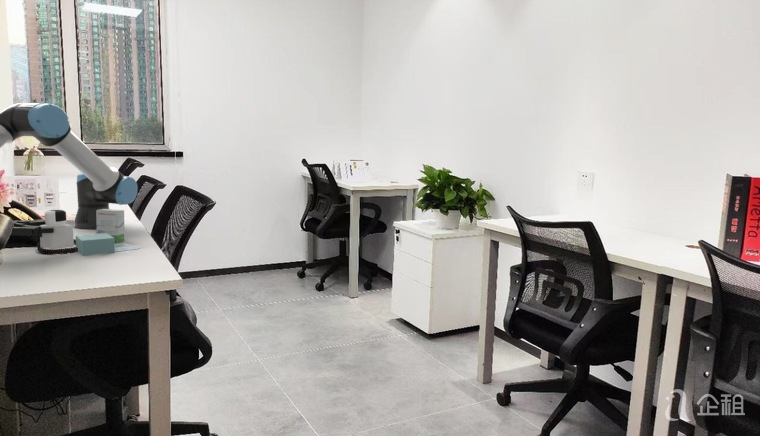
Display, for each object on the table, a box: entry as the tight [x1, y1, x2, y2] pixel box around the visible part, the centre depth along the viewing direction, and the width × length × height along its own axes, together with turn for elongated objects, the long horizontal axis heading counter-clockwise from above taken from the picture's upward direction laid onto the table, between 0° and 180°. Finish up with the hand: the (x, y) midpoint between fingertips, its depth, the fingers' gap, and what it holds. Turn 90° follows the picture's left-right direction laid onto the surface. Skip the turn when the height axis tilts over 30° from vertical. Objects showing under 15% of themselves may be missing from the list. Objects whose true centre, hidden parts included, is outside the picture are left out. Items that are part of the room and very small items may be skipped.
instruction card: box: [114, 242, 141, 252], centre depth 202 cm, size 12×8×1 cm, turn 47°
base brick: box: [75, 233, 116, 256], centre depth 195 cm, size 10×10×5 cm
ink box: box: [96, 208, 125, 243], centre depth 212 cm, size 9×5×12 cm, turn 84°
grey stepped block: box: [39, 209, 75, 250], centre depth 184 cm, size 7×7×12 cm
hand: (69, 226), depth 185 cm, fingers closed on grey stepped block, 10 cm apart
